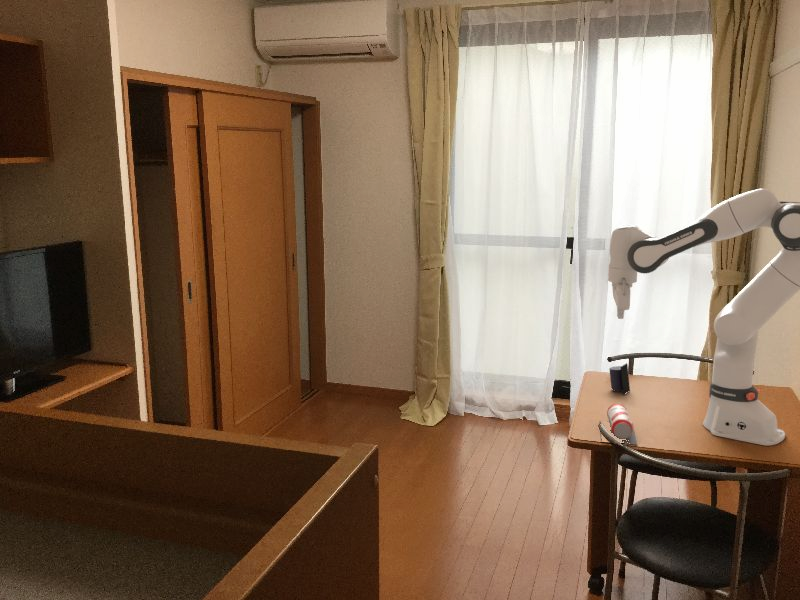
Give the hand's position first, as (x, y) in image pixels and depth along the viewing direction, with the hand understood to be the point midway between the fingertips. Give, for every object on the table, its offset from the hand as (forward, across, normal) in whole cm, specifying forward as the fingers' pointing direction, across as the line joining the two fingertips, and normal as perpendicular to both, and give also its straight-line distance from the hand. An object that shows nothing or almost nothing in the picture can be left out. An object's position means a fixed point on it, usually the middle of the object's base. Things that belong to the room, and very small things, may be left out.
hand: (620, 317), depth 225 cm
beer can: (+28, -12, 0) cm, 30 cm away
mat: (+31, -22, +1) cm, 38 cm away
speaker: (+32, +20, -2) cm, 37 cm away
